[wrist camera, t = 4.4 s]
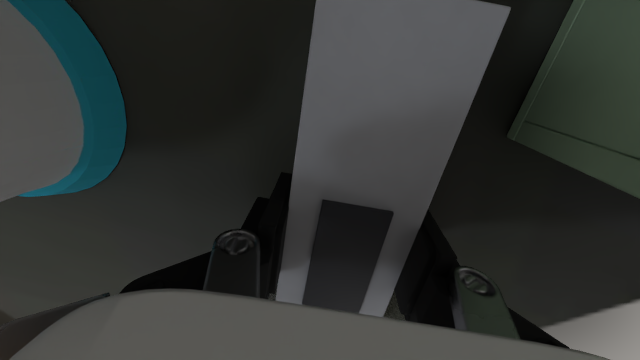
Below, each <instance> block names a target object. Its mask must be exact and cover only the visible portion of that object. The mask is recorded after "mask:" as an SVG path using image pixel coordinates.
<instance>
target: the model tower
mask: <svg viewBox="0 0 640 360" xmlns="http://www.w3.org/2000/svg"><path fill="white" fill-rule="evenodd" d="M126 128H127V124H126V115H125V107H124V101H123V97H122V94H121V91H120V88H119V85H118V81H117V78H116V75H115V73H114V71H113V69H112V67H111V65H110V63H109V61H108V59H107V57H106V55H105V53H104V51H103V49H102V47H101V46H100V44H99V43H98V41H97V40H96V38H95V37H94V36H93V34H92V33H91V31H90V30H89V29H88V27H87V26H86V24H85V23H84V21H83V20H82V19H81V17H80V16H79V15H78V14H77V13H76V12H75V11H74V10H73V9H72V8H71V7H70V5H69V4H68V3H67V2H66V1H65V0H0V202H1V201H4V200H6V199H9V198H12V197H15V196H25V197H33V196H46V195H56V194H65V193H74V192H78V191H81V190H84V189H88V188H91V187H93V186H95V185H96V184H98V183H99V182H101V181H102V180H104V179H105V178H107V177H108V175H109V174H110V173H111V172H112V170H113V169H114V168H115V167H116V166H117V164H118V162H119V159H120V157H121V154H122V152H123V149H124V146H125V137H126Z"/></svg>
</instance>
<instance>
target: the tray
mask: <svg viewBox="0 0 640 360" xmlns="http://www.w3.org/2000/svg"><path fill="white" fill-rule="evenodd" d="M506 137H507V138H509V139H511V140H514V141H516V142H518V143H521V144H523V145H525V146H527V147H529V148H531V149H534V150H536V151H538V152H540V153H542V154H544V155H546V156H549V157H551V158H553V159H555V160H557V161H559V162H562V163H564V164H566V165H568V166H570V167H572V168H575V169H577V170H579V171H581V172H583V173H585V174H587V175H590V176H592V177H594V178H596V179H598V180H600V181H603V182H605V183H607V184H609V185H611V186H613V187H615V188H618V189H620V190H622V191H624V192H626V193H628V194H631V195H633V196H635V197H637V198H639V199H640V0H573V2H572V4H571V7H570V9H569V11H568V13H567V15H566V17H565V19H564V21H563V23H562V25H561V27H560V29H559V31H558V33H557V35H556V37H555V39H554V41H553V43H552V45H551V47H550V49H549V51H548V53H547V55H546V57H545V59H544V61H543V63H542V65H541V67H540V69H539V71H538V73H537V75H536V77H535V79H534V81H533V83H532V85H531V87H530V89H529V91H528V94H527V96H526V98H525V100H524V102H523V104H522V106H521V108H520V110H519V112H518V114H517V116H516V118H515V120H514V122H513V124H512V126H511V128H510V130H509V132H508V134H507V136H506Z"/></svg>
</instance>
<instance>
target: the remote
mask: <svg viewBox="0 0 640 360" xmlns="http://www.w3.org/2000/svg"><path fill="white" fill-rule="evenodd" d="M510 10H511V7H509V6H504V5H499V4H494V3H489V2H483V1H478V0H316V4H315V12H314V19H313V26H312V34H311V41H310V49H309V56H308V64H307V71H306V79H305V86H304V93H303V101H302V108H301V116H300V123H299V131H298V138H297V146H296V153H295V160H294V168H293V175H292V183H291V190H290V198H289V205H288V206H289V212H288V219H287V227H286V234H285V241H284V249H283V256H282V263H281V271H280V275H279V279H278V287H277V294H276V301H282V302H288V303H295V304H302V305H308V306H315V307H321V308H328V309H334V310H341V311H347V312H354V313H360V314H366V315H373V316H379V317H383V316H384V313H385V311H386V308H387V306H388V304H389V301H390V299H391V296H392V294H393V292H394V288H395V286H396V283H397V281H398V278H399V276H400V274H401V271H402V269H403V266H404V264H405V262H406V259H407V257H408V254H409V252H410V250H411V247H412V245H413V242H414V240H415V237H416V235H417V233H418V230H419V229H420V227H421V224H422V222H423V219H424V217H425V215H426V212H427V210H428V207H429V205H430V202H431V200H432V198H433V195H434V193H435V190H436V188H437V186H438V183H439V181H440V178H441V176H442V174H443V171H444V169H445V166H446V164H447V162H448V159H449V157H450V154H451V152H452V150H453V147H454V145H455V142H456V140H457V138H458V135H459V133H460V130H461V128H462V125H463V123H464V121H465V118H466V116H467V113H468V111H469V109H470V106H471V104H472V101H473V99H474V97H475V94H476V92H477V89H478V87H479V85H480V82H481V80H482V77H483V75H484V73H485V70H486V68H487V65H488V63H489V61H490V58H491V56H492V53H493V51H494V48H495V46H496V44H497V41H498V39H499V36H500V34H501V32H502V29H503V27H504V24H505V22H506V20H507V17H508V15H509V12H510Z"/></svg>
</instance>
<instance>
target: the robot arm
mask: <svg viewBox="0 0 640 360" xmlns="http://www.w3.org/2000/svg"><path fill="white" fill-rule="evenodd" d="M292 175H293V174H288V173H282V172H281V174H280V177H279V179H278V181H277V184H276V186H275V188H274V190H273V193H272V195H271V197H270V199H267V198H261V197H258V198H257V199H256V201H255V203H254V205H253V207H252V209H251V210H250V212H249V214H248V216H247V218H246V220H245V222H244V224H243V226H242V227H241V229H232V230H228V231H225V232H223V233H221V234H220V235H219V236H218V237H217V238H216V239H215V241H214V244H213V248H212V251H211V252H208V253H205V254H202V255H200V256H197V257H194V258H192V259H189V260H186V261H183V262H181V263H178V264H175V265H172V266H170V267H167V268H164V269H161V270H159V271H156V272H153V273H151V274H148V275H145V276H142V277H140V278H138V279H136V280H134V281H132V282H131V283H130V284H128V285H127V286H126V287H125V288H124V289H123V290H122V291H121V292H120V293H119V294H117V295H113V296H110V294H109V293H105V294H102V295H98V296H95V297H91V298H88V299H84V300H81V301H78V302H74V303H71V304H67V305H64V306H60V307H57V308H53V309H50V310H46V311H43V312H39V313H36V314H32V315H29V316H26V317H22V318H19V319H15V320H13V321H10V322H8V323H5V324H2V325H0V360H609V359H606V358H604V357H600V356H597V355H593V354H589V353H586V352H582V351H578V350H573V349H570V348H569V347H567V346H566V345H564V344H563V343H561V342H560V341H558V340H556V339H555V338H553V337H552V336H551V335H549V334H548V333H546V332H544V331H543V330H541V329H540V328H538V327H537V326H535V325H534V324H532V323H531V322H529V321H528V320H526V319H525V318H523V317H522V316H520V315H519V314H517V313H516V312H514V311H513V310H511V309H510V308H508V307H507V305H506V303H505V301H504V298H503V296H502V294H501V291H500V289H499V287H498V286H497V284H496V283H495V282H494V281H493V280H492V279H491V278H490V277H488V276H487V275H486V274H484V273H483V272H481V271H479V270H477V269H474V268H472V267H468V266H460V265H459V263H458V262H457V260H456V259H457V256H456V255H455V253H454V251H453V250H452V248H451V246H450V245H449V243H448V241H447V240H446V238H445V237H444V235H443V233H442V232H441V230H440V228H439V227H438V225H437V223H436V222H435V220H434V218H433V217H432V215H431V213H430V212H429V210H427V212H426V215H425V217H424V219H423V222H422V224H421V227H420V229H419V230H418V233H417V235H416V237H415V240H414V242H413V245H412V247H411V250H410V252H409V254H408V257H407V259H406V262H405V264H404V266H403V269H402V271H401V274H400V276H399V278H398V281H397V283H396V286H395V288H394V290H395V294H396V298H397V302H398V306H399V310H400V313H401V314H404V315H405V319H406V321H404V320H398V319H392V318H385V317H379V316H373V315H366V314H360V313H354V312H347V311H341V310H334V309H328V308H321V307H315V306H308V305H302V304H295V303H288V302H282V301H275V300H269V299H268V297H269V293H271V294H275V291H276V287H277V283H278V279H279V275H280V271H281V263H282V256H283V249H284V241H285V234H286V227H287V219H288V212H289V206H288V205H289V198H290V190H291V183H292Z"/></svg>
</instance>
